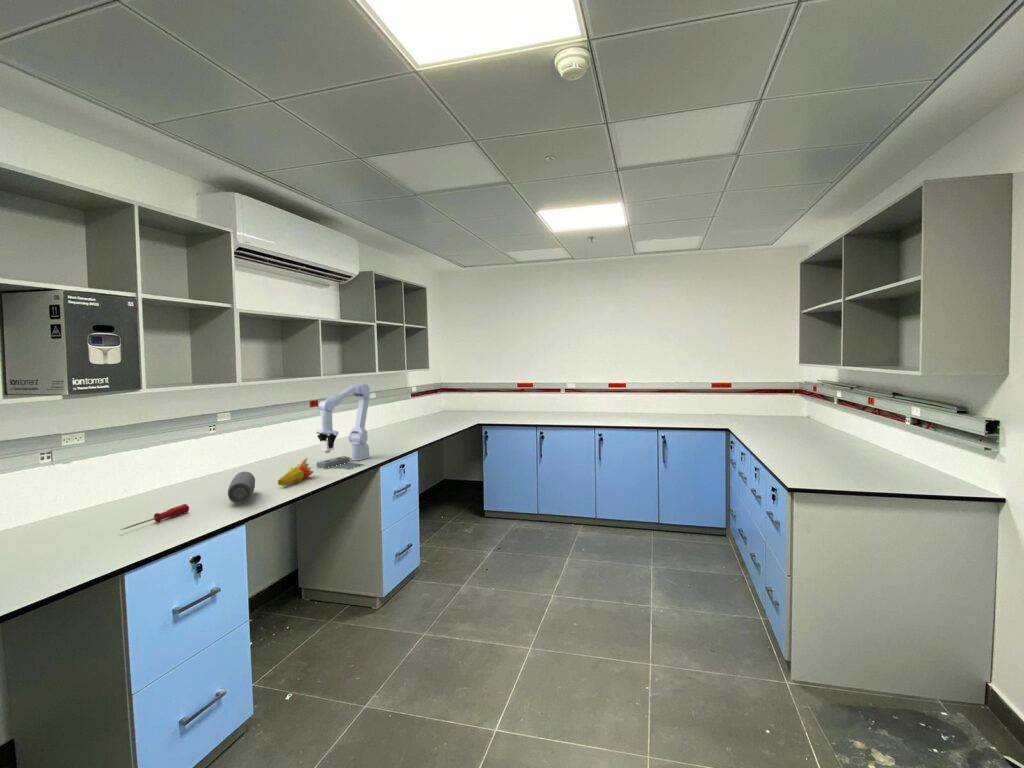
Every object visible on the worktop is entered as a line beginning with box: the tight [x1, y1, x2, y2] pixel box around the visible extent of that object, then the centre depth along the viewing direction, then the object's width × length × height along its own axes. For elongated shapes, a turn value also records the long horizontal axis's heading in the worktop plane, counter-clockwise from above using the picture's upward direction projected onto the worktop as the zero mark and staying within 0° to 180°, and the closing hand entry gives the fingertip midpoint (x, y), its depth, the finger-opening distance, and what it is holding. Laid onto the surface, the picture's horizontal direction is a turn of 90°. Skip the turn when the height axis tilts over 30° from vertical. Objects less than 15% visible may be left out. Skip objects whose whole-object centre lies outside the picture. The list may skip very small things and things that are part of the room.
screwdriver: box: [119, 503, 190, 531], centre depth 177 cm, size 4×25×4 cm, turn 165°
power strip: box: [316, 455, 351, 469], centre depth 272 cm, size 18×6×4 cm, turn 154°
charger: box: [320, 439, 335, 454], centre depth 268 cm, size 5×4×6 cm
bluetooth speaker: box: [227, 470, 256, 504], centre depth 206 cm, size 23×9×10 cm, turn 24°
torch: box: [277, 457, 314, 486], centre depth 235 cm, size 8×8×25 cm
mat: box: [332, 462, 364, 470], centre depth 268 cm, size 11×11×1 cm
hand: (327, 447), depth 268 cm, fingers closed on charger, 4 cm apart
